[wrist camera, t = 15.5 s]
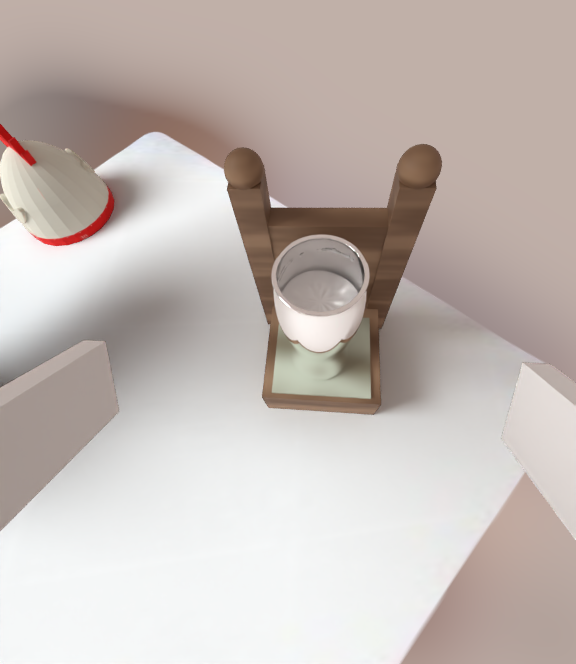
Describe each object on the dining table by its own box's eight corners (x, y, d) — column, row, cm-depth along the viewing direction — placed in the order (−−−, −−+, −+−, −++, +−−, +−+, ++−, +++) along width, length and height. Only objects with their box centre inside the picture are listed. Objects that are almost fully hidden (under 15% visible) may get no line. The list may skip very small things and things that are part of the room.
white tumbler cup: (322, 399, 34) (325, 339, 21) (273, 355, 37) (247, 277, 23) (366, 350, 36) (394, 267, 22) (316, 312, 38) (315, 216, 25)
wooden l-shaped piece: (386, 415, 38) (475, 318, 16) (256, 406, 40) (182, 308, 18) (382, 310, 44) (445, 134, 22) (268, 306, 45) (223, 138, 24)
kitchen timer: (83, 170, 60) (14, 77, 46) (131, 204, 56) (70, 112, 42) (15, 219, 56) (-81, 134, 43) (60, 260, 52) (-32, 179, 38)
